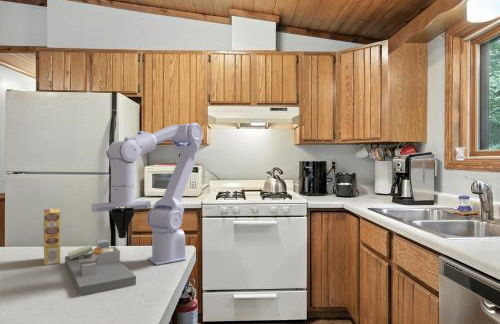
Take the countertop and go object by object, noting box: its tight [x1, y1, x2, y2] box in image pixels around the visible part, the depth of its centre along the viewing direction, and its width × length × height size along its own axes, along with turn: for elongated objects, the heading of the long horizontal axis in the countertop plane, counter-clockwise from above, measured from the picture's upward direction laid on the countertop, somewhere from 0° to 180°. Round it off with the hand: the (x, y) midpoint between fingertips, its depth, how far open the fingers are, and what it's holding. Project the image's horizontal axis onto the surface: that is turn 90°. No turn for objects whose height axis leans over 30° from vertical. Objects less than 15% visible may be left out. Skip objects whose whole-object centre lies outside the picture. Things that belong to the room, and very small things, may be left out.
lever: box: [87, 246, 102, 264], centre depth 80 cm, size 2×3×6 cm
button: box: [101, 248, 114, 253], centre depth 89 cm, size 4×4×3 cm
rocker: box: [67, 244, 94, 259], centre depth 93 cm, size 6×4×1 cm
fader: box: [96, 239, 110, 248], centre depth 96 cm, size 3×4×4 cm
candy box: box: [43, 208, 61, 266], centre depth 96 cm, size 9×4×15 cm, turn 33°
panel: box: [64, 246, 137, 297], centre depth 85 cm, size 12×30×5 cm, turn 35°
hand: (122, 237), depth 84 cm, fingers closed
